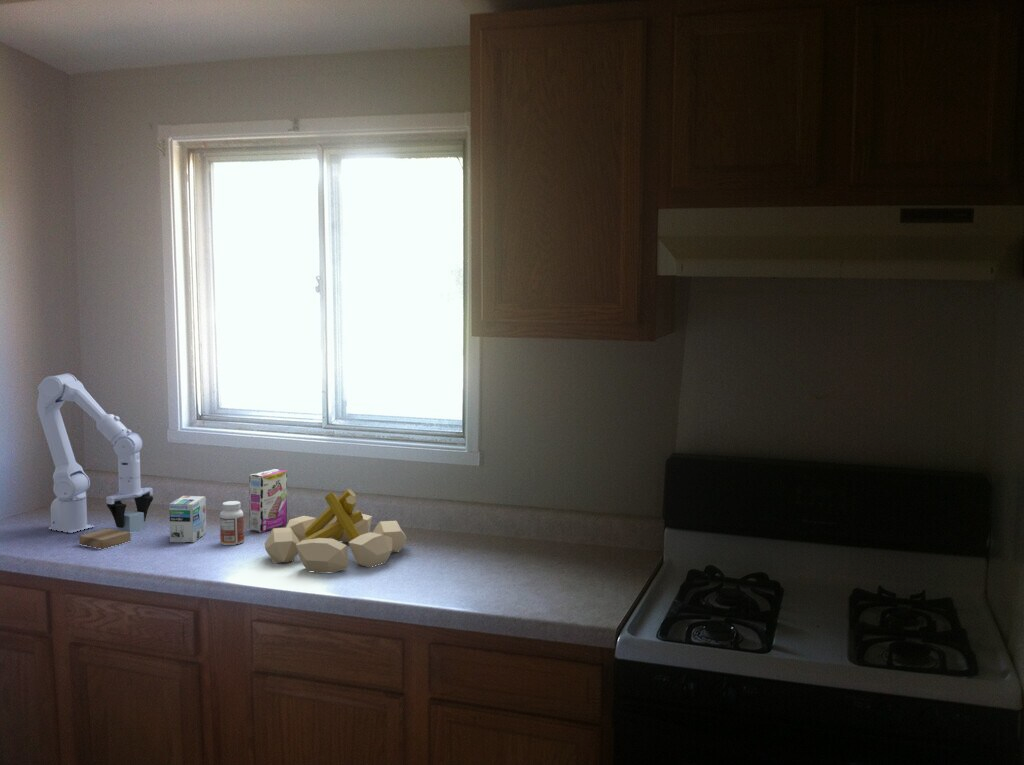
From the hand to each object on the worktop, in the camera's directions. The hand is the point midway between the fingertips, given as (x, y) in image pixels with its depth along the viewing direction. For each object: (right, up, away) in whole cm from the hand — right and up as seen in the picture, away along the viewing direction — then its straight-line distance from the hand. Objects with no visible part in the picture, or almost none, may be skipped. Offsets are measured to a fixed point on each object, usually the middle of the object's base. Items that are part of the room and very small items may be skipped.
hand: (130, 524), depth 267 cm
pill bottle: (+32, -4, -11) cm, 34 cm away
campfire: (+62, -5, -21) cm, 66 cm away
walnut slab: (-1, -4, -14) cm, 14 cm away
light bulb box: (+19, -3, -7) cm, 20 cm away
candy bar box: (+38, -2, +5) cm, 38 cm away
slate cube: (0, -2, 0) cm, 2 cm away
